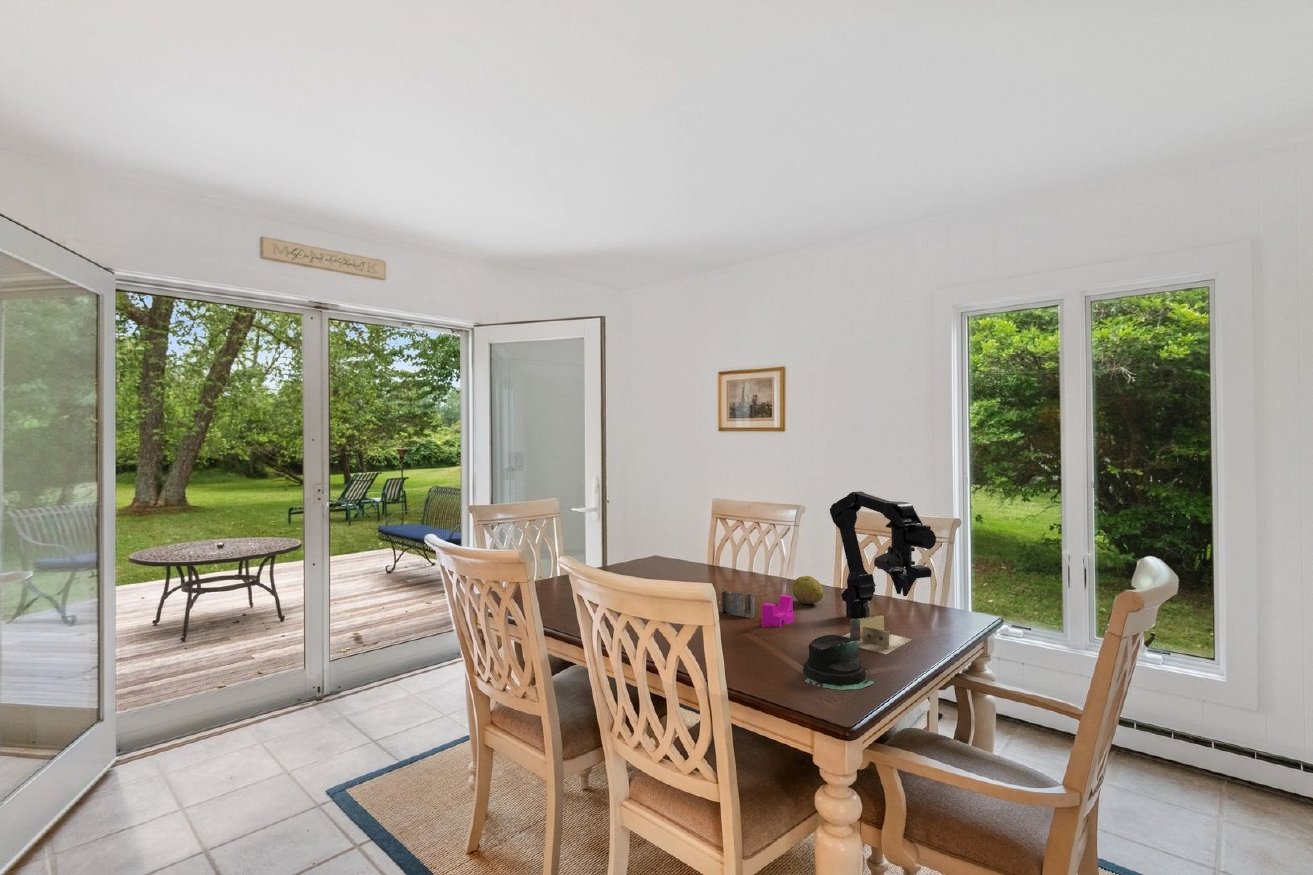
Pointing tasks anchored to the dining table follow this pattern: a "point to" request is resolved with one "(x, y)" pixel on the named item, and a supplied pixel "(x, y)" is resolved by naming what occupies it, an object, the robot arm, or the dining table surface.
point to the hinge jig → (875, 638)
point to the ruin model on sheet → (738, 603)
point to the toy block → (778, 612)
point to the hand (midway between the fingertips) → (901, 594)
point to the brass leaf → (871, 623)
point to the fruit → (807, 590)
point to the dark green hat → (835, 663)
